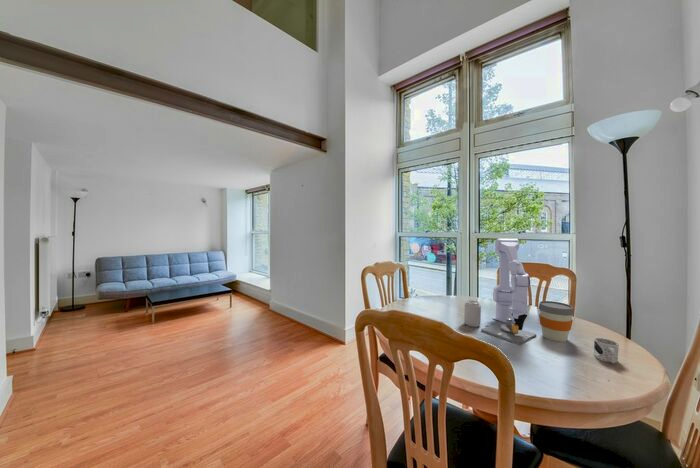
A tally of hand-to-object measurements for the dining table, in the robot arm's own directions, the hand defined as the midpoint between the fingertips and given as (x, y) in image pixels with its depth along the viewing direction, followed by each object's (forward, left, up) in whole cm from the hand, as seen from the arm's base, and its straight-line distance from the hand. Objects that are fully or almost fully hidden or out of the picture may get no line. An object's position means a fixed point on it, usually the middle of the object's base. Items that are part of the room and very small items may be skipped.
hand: (518, 329), depth 120 cm
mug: (-6, +29, -4) cm, 29 cm away
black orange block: (0, -3, -2) cm, 4 cm away
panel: (+1, -4, -3) cm, 6 cm away
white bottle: (+5, -20, -4) cm, 21 cm away
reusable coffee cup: (-13, +9, -4) cm, 17 cm away
